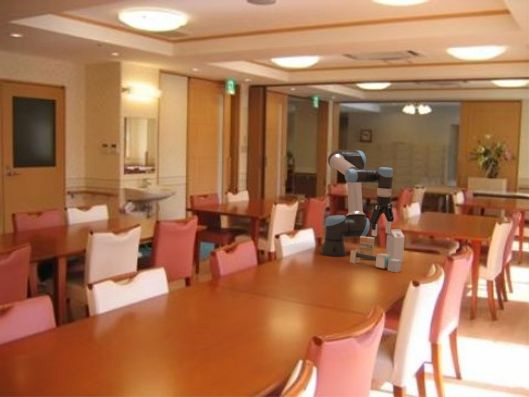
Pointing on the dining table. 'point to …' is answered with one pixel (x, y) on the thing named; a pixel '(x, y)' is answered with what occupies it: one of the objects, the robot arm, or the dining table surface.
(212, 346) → the dining table surface
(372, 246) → the supplement box
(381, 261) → the sleeve
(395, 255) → the milk carton
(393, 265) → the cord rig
